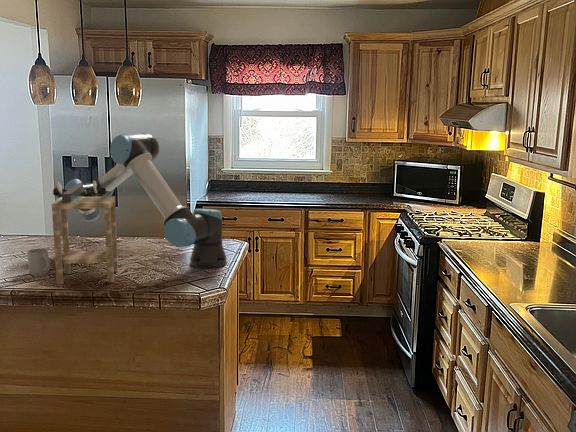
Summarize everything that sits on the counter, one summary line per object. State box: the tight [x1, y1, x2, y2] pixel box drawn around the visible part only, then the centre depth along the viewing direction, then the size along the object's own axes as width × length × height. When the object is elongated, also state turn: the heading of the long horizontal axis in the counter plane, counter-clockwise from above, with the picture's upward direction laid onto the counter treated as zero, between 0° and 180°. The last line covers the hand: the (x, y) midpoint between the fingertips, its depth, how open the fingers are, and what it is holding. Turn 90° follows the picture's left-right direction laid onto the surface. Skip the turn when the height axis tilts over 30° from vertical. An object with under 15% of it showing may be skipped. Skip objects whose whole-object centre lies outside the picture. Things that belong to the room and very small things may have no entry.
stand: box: [51, 195, 119, 285], centre depth 218 cm, size 20×16×30 cm
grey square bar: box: [62, 185, 84, 202], centre depth 220 cm, size 3×26×3 cm, turn 10°
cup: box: [27, 248, 51, 276], centre depth 225 cm, size 7×10×9 cm
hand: (75, 183), depth 226 cm, fingers open, 13 cm apart
